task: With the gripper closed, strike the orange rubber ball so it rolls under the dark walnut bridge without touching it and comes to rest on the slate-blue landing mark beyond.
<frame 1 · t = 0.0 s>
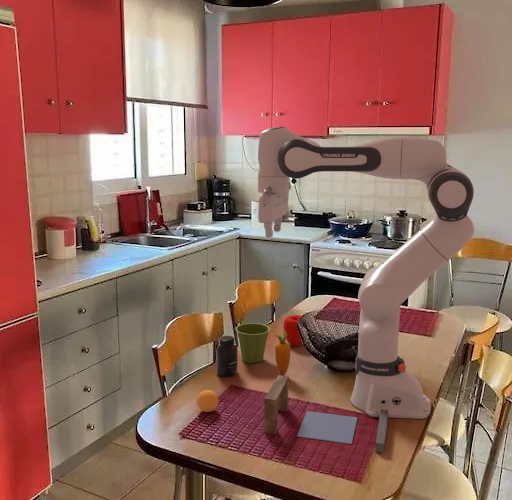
hand: (273, 234, 166), 48 cm above the table, tool pointing down, fingers open, 8 cm apart
ball: (207, 400, 163), on the table
landing mark: (328, 427, 154), on the table
plant pot: (252, 360, 199), on the table
stopper wall: (381, 434, 150), on the table
apple: (295, 344, 213), on the table
supplement bottle: (227, 373, 189), on the table
bridge: (276, 420, 158), on the table
carrot: (282, 377, 186), on the table
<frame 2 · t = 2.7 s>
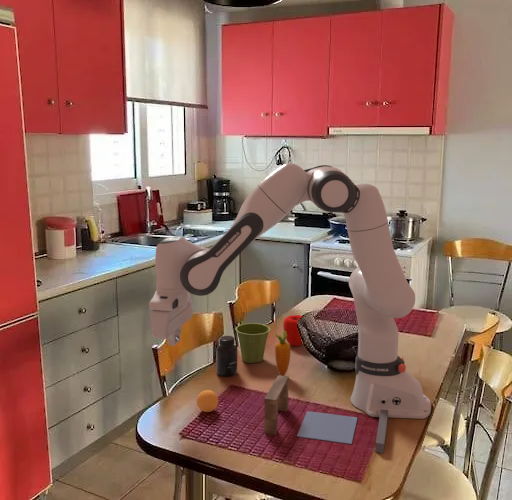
hand: (174, 343, 162), 19 cm above the table, tool pointing down, fingers closed
nothing on the table moved.
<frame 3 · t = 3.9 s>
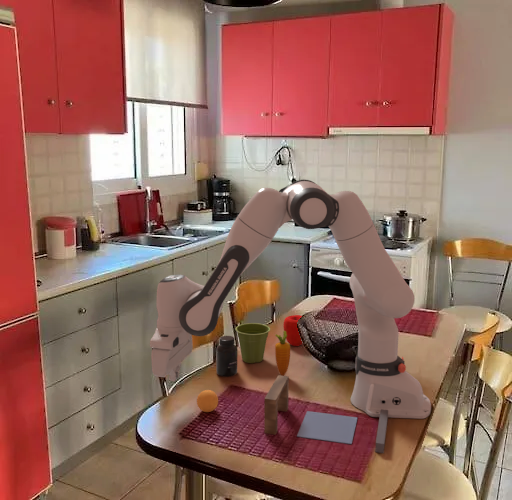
hand: (174, 379, 164), 9 cm above the table, tool pointing down, fingers closed
nothing on the table moved.
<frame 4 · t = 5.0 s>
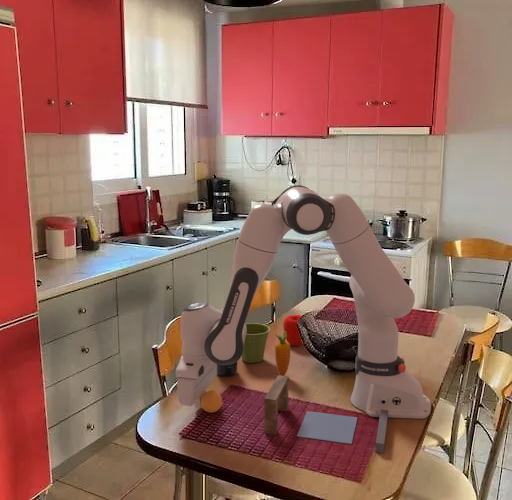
hand: (199, 405, 164), 1 cm above the table, tool pointing down, fingers closed
ball: (211, 401, 162), on the table, touching gripper
everything else where it was.
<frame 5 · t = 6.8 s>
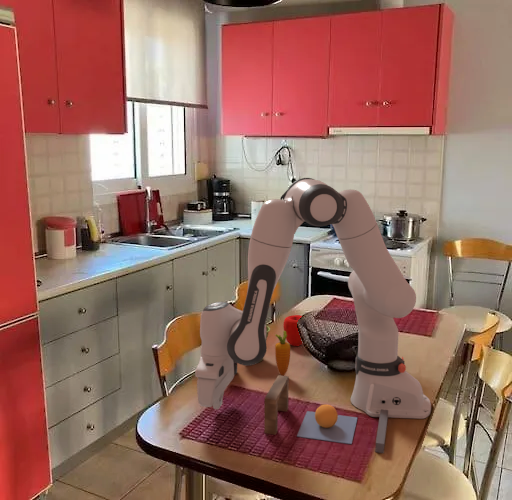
hand: (217, 406, 162), 2 cm above the table, tool pointing down, fingers closed
ball: (326, 416, 154), on the table
everything else where it was.
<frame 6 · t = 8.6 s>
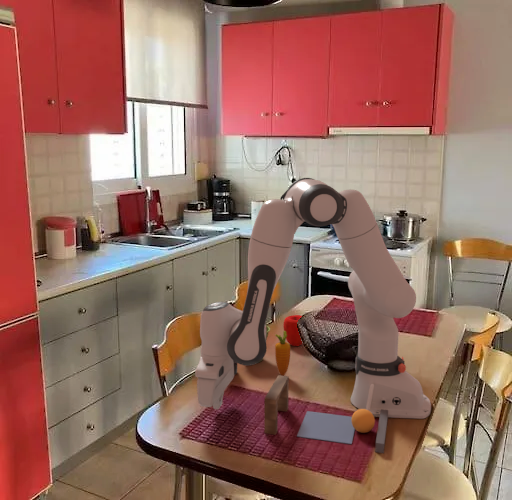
hand: (217, 406, 162), 2 cm above the table, tool pointing down, fingers closed
ball: (363, 420, 151), on the table
everything else where it was.
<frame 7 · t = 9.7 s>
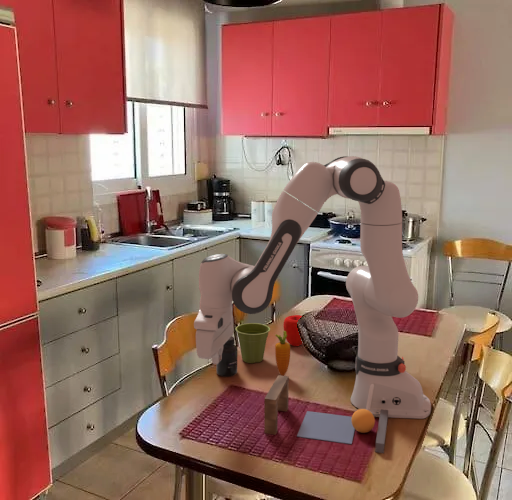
hand: (217, 362, 159), 15 cm above the table, tool pointing down, fingers closed
nothing on the table moved.
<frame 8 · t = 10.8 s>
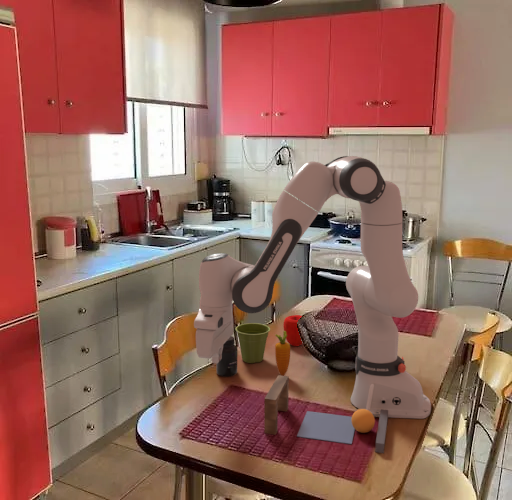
hand: (216, 361, 159), 15 cm above the table, tool pointing down, fingers closed
nothing on the table moved.
at the end: ball 9.1 cm from the landing mark (horizontally); ball never touched bridge; ball at rest at the end (0.0 cm/s) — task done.
